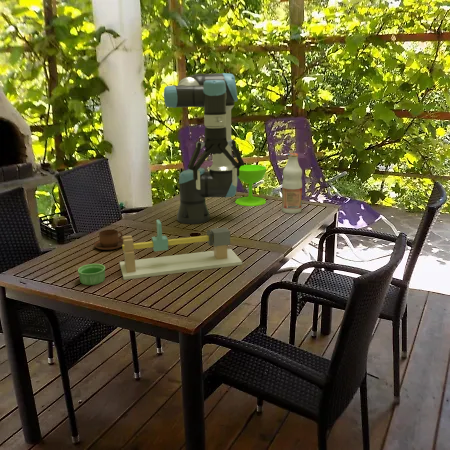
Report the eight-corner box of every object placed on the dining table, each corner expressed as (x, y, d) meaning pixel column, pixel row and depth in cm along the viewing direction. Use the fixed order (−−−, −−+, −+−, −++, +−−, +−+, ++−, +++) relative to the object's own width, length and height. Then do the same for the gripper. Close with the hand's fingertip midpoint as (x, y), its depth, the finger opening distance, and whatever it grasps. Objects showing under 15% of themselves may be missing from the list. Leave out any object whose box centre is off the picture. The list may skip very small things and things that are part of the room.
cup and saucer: (107, 240, 210) (106, 226, 208) (131, 244, 205) (130, 229, 203) (88, 249, 200) (86, 235, 198) (112, 254, 195) (111, 239, 193)
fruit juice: (277, 210, 247) (278, 153, 238) (292, 207, 252) (293, 151, 244) (290, 215, 240) (292, 156, 231) (305, 211, 245) (307, 153, 236)
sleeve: (152, 247, 181) (150, 220, 178) (166, 245, 182) (164, 218, 179) (154, 251, 176) (152, 224, 173) (168, 250, 177) (167, 223, 174)
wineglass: (250, 208, 253) (250, 172, 247) (228, 201, 264) (228, 167, 259) (272, 202, 263) (272, 167, 257) (250, 196, 274) (250, 163, 269)
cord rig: (119, 264, 184) (117, 232, 180) (230, 251, 195) (230, 221, 191) (123, 279, 171) (120, 245, 167) (242, 264, 182) (242, 232, 178)
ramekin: (90, 273, 177) (88, 262, 175) (111, 277, 173) (110, 265, 172) (73, 283, 169) (71, 271, 167) (95, 287, 165) (94, 275, 164)
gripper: (182, 130, 167) (185, 192, 174) (253, 126, 175) (253, 186, 181) (177, 127, 174) (180, 188, 180) (245, 123, 181) (245, 182, 188)
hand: (216, 187), depth 181 cm, fingers open, 13 cm apart
